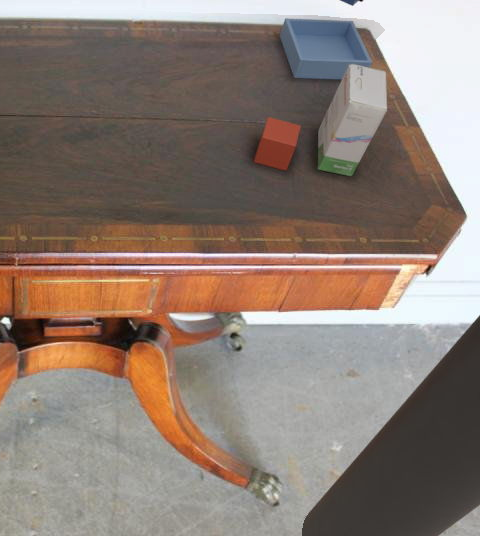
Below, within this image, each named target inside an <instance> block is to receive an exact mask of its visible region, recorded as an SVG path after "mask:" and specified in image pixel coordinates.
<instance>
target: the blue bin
mask: <svg viewBox="0 0 480 536" xmlns="http://www.w3.org/2000/svg"><path fill="white" fill-rule="evenodd" d="M279 39H280V42H281V44H282V46H283V50H284V54H285V56H286V59H287V60H288V61H287V63H288V64H289V66H290V70H291V73H292V76H293V78H294V79H311V80H312V79H313V80H340V81H342V79H343V76H344V74H345V72H346V70H347V68H348V66H349V65H351V64H355V65H359V66H364V67H369V68H372V64H373V61H372V59H371V56H370V54H369V52H368V49H367V48H366V45H365V43H364V42H363V39H362V37H361V36H360V33H359V31H358V29H357V27H356V24H355V22H354V21H353V20H334V19H333V20H332V19H311V18H310V19H309V18H287V17H285V18H284V21H283V24H282V27H281V31H280V33H279Z"/></svg>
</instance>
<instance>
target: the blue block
mask: <svg viewBox="0 0 480 536" xmlns="http://www.w3.org/2000/svg"><path fill="white" fill-rule="evenodd" d="M339 1H340V2H343V3H345V4H347V5H349V6H352V7H354V6H355V4H357V3H358V2H359V1H358V0H339Z"/></svg>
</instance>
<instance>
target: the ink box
mask: <svg viewBox="0 0 480 536" xmlns="http://www.w3.org/2000/svg"><path fill="white" fill-rule="evenodd" d="M387 94H388V93H387V72H386V70H382V69H377V68H372V67H370V68H369V67H364V66H359V65H355V64H351V65H349V66H348V68H347V70H346V72H345V74H344V76H343V79H342V80H340V83H339V85H338V87H337V89H336V92H335V94H334V96H333V98H332V100H331V102H330V105H329V106H328V109H327V111H326V113H325V114H324V115H325V116H324V117H323V120H322V122H321V124H320V126H319V128H318V131H317V132H318V133H317V134H318V137H317V139H318V140H317V167H316V169H317V170H318V171H324V172H328V173H334V174H338V175H342V176H347V177H352V176H353V175H354V173H355V171H356V169H357V167H358V165H359V164H360V162H361V159H362V158H363V156H364V155H365V152H366V151H367V148H368V147H369V145H370V143H371V141H372V140H373V137H374V136H375V134H376V132H377V130H378V129H379V126H380V125H381V123H382V121H383V119H384V117H385V115H386V113H387V112H388V101H387V99H388V98H387V97H388V96H387Z"/></svg>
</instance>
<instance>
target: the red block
mask: <svg viewBox="0 0 480 536" xmlns="http://www.w3.org/2000/svg"><path fill="white" fill-rule="evenodd" d="M301 127H302V126H301V125H300V124H296V123H292V122H289V121H284V120H281V119H278V118H274V117H269V116H268V117H267V119H266V122H265V124H264V127H263V131H262V133H261V136H260V139H259V143H258V146H257V149H256V153H255V156H254V160H253V162H254V163H255V164H259V165H264V166H267V167H271V168H274V169H278V170H281V171H284V172H285V171H287V170H288V169H289V168H288V167H289V165H290V162H291V160H292V157H293V156H294V153H295V150H296V147H297V143H298V139H299V135H300V132H301Z"/></svg>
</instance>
